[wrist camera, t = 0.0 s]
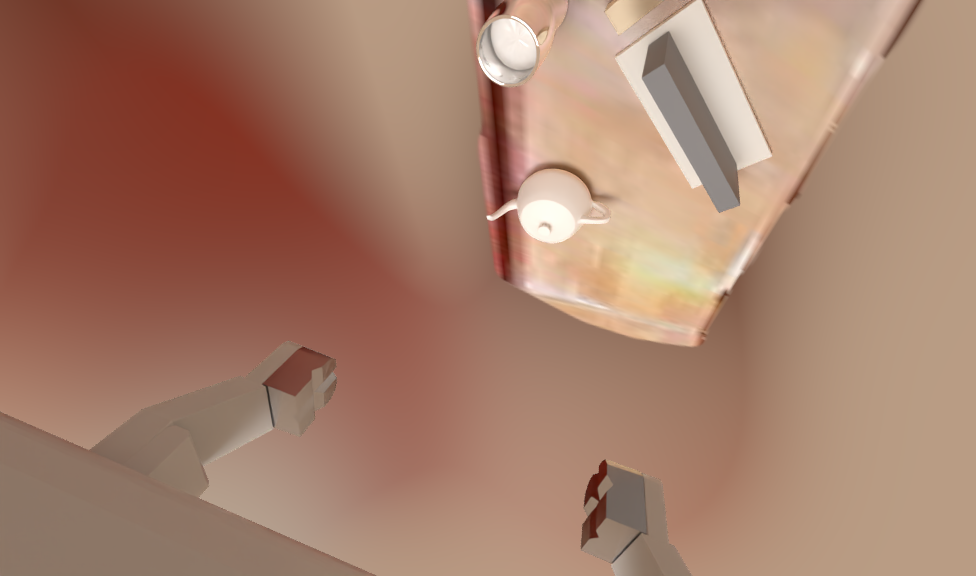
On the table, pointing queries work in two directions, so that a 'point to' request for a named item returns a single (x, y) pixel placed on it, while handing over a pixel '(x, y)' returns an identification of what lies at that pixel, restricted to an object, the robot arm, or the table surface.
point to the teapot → (554, 206)
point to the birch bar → (628, 12)
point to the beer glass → (518, 39)
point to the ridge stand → (696, 101)
